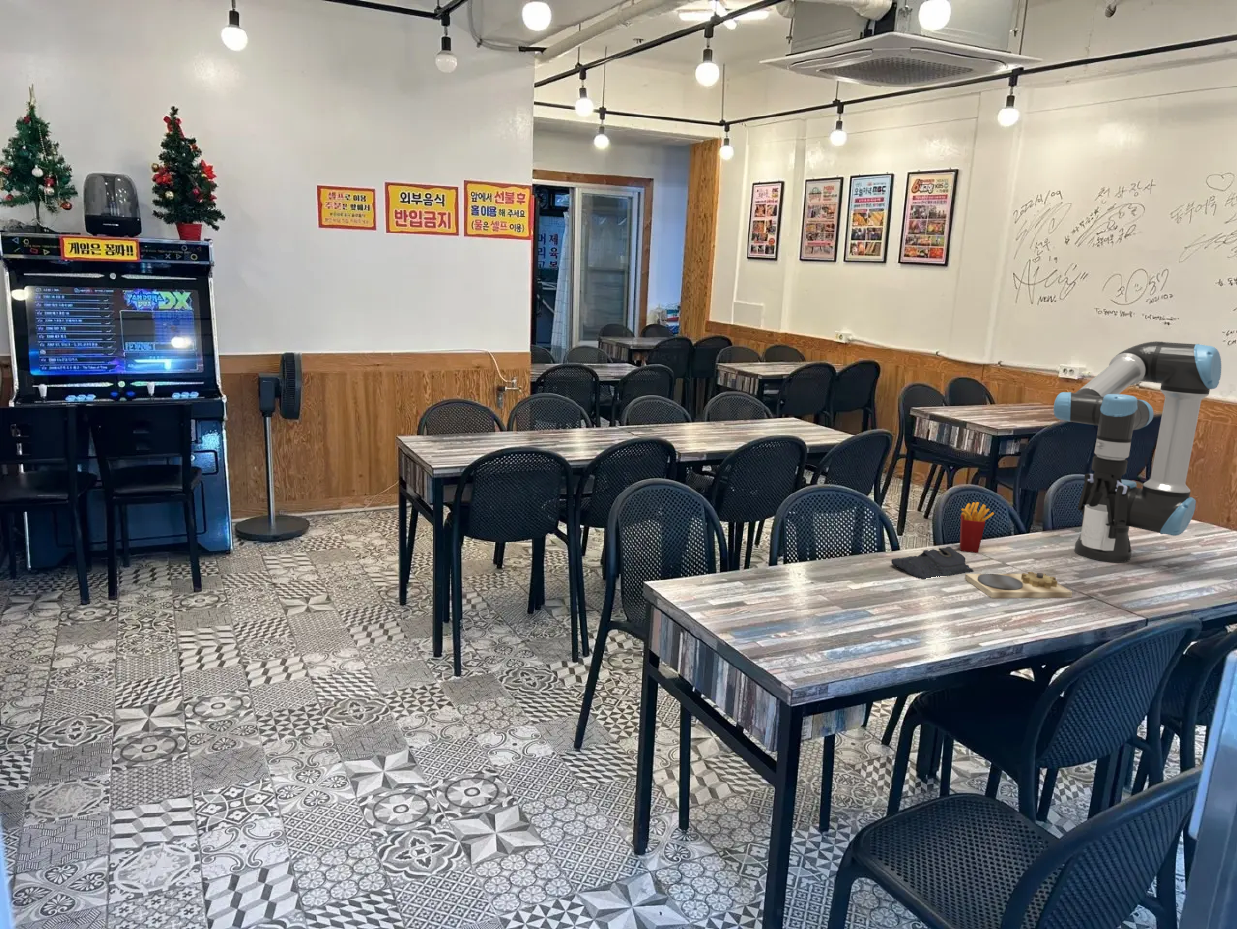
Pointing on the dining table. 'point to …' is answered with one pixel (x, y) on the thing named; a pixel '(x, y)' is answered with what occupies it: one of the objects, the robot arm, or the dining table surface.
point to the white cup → (1094, 526)
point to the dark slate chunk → (934, 563)
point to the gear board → (1018, 585)
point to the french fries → (972, 527)
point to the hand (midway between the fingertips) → (1096, 544)
